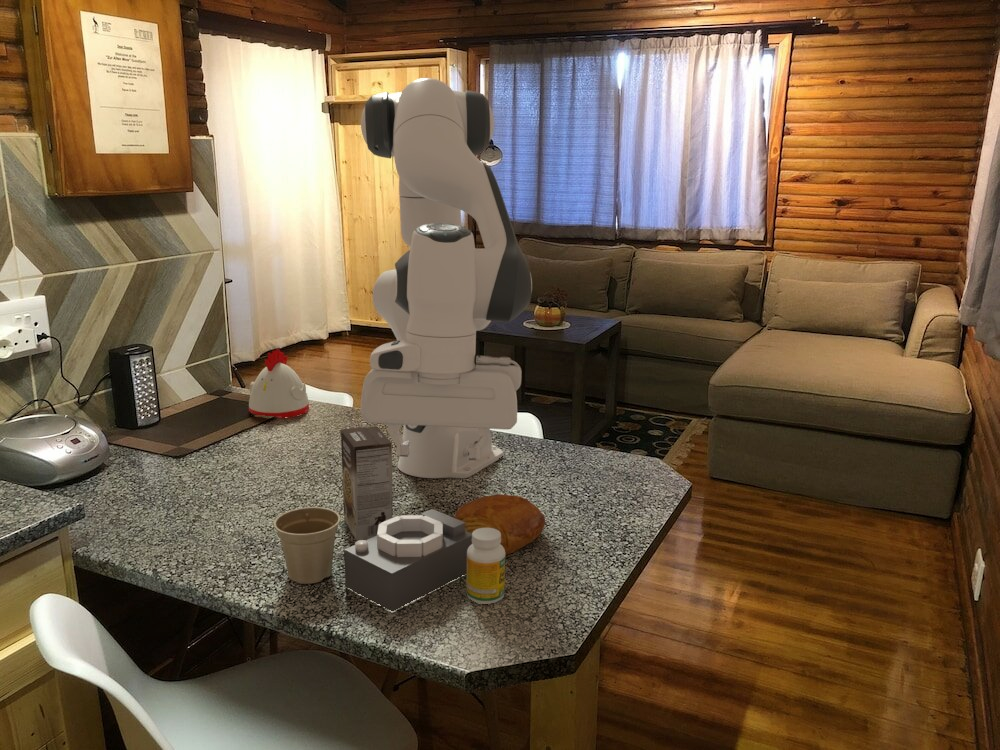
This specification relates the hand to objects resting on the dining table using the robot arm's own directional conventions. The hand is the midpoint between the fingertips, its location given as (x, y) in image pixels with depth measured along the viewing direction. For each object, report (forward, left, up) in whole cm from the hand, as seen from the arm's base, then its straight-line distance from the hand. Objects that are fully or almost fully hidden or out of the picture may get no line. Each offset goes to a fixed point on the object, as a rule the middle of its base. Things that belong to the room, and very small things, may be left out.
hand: (438, 457), depth 106 cm
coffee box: (-9, -26, -22) cm, 35 cm away
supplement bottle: (-6, +3, -22) cm, 23 cm away
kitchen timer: (-36, -91, -22) cm, 100 cm away
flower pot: (+7, -20, -22) cm, 30 cm away
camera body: (-2, -8, -21) cm, 23 cm away
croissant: (-21, -8, -22) cm, 31 cm away
